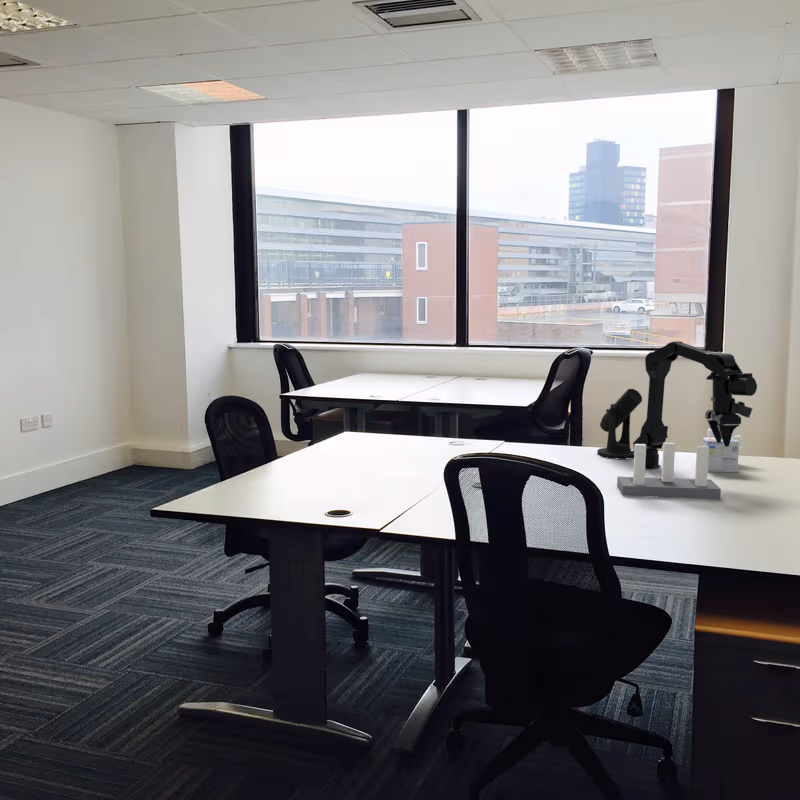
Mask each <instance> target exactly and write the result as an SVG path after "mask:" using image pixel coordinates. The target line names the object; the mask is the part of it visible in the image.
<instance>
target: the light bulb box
mask: <svg viewBox="0 0 800 800" xmlns="http://www.w3.org/2000/svg"><path fill="white" fill-rule="evenodd" d="M701 446H708V447H709V459H708V473H709V472H710V473H711V472H713V473H738V471H739V470H738V469H739V467H738V466H739V453H740V450H739V447H740V441H739V440H738V439H736V438H731V440H730V444H729V446H728V447H725V445H724V443H723V440H722V438H721V442H720V443H717V441H716V439H715V438H707V437H702V444H701Z"/></svg>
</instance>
